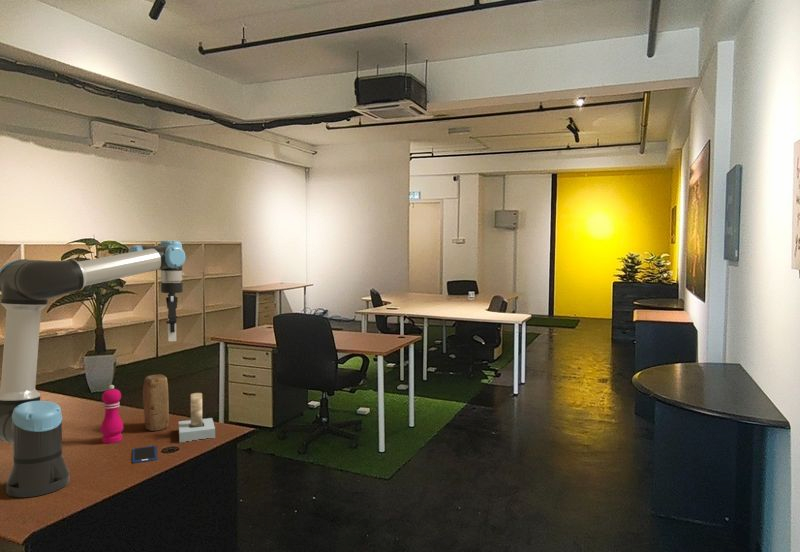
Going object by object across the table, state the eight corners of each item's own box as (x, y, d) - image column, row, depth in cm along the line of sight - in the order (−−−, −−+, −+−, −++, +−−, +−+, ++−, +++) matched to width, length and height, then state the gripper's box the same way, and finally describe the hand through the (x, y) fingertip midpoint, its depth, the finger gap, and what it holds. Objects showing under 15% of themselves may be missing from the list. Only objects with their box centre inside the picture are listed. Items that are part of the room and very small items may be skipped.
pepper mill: (113, 444, 192) (113, 387, 191) (95, 443, 193) (95, 386, 192) (128, 437, 199) (127, 383, 198) (110, 436, 200) (109, 381, 199)
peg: (190, 436, 200) (190, 396, 200) (190, 433, 204) (190, 393, 204) (203, 435, 202) (202, 395, 201) (202, 432, 206) (202, 392, 205)
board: (179, 442, 194) (179, 432, 194) (178, 430, 207) (178, 421, 207) (215, 438, 199) (215, 428, 199) (212, 426, 212) (212, 417, 212)
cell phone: (132, 464, 175) (132, 462, 175) (132, 450, 187) (132, 448, 187) (157, 461, 178) (157, 459, 178) (156, 447, 191) (156, 445, 191)
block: (170, 429, 209) (169, 377, 208) (149, 433, 204) (148, 379, 203) (161, 422, 217) (161, 372, 216) (141, 425, 212) (140, 374, 211)
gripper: (183, 283, 196) (183, 343, 197) (181, 280, 219) (181, 333, 220) (160, 284, 193) (161, 344, 194) (160, 280, 216) (161, 334, 217)
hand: (172, 338), depth 207 cm, fingers open, 13 cm apart
